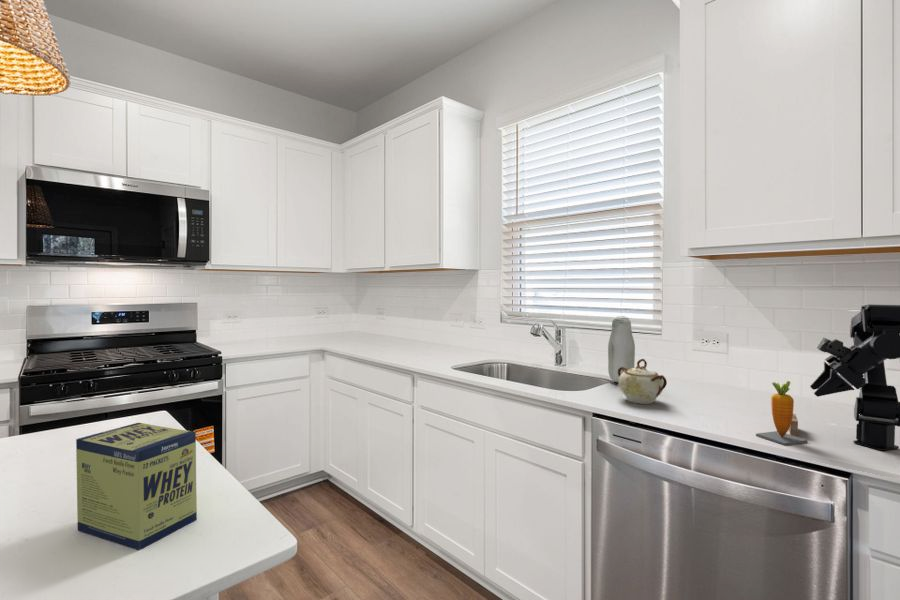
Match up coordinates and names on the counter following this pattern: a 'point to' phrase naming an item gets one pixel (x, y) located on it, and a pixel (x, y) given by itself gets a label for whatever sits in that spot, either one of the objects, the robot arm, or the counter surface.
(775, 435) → the charcoal mat
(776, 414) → the carrot
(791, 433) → the walnut block
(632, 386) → the sugar bowl
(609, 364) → the grey bottle
